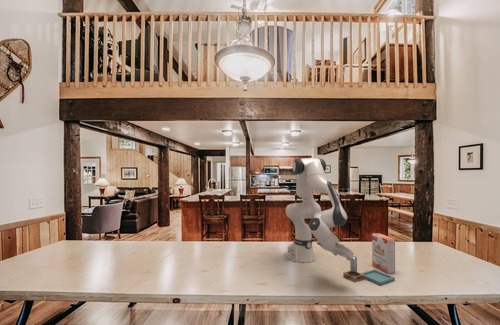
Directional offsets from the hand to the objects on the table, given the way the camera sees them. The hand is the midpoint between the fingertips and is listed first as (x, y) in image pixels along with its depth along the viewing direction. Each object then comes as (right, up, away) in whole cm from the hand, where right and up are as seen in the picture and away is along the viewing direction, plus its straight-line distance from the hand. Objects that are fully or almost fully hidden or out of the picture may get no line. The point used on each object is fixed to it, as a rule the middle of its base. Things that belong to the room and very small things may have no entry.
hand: (342, 256), depth 145 cm
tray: (+21, -14, +3) cm, 25 cm away
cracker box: (+31, -14, +17) cm, 39 cm away
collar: (+8, -14, +4) cm, 16 cm away
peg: (+8, -14, +4) cm, 16 cm away
